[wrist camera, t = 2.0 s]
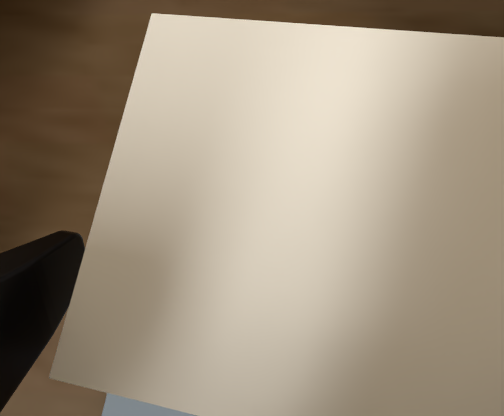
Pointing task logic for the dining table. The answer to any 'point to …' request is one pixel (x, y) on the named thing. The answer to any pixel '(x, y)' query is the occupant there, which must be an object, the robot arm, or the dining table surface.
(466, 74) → the white rectangular block
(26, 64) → the dining table surface
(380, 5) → the dining table surface
